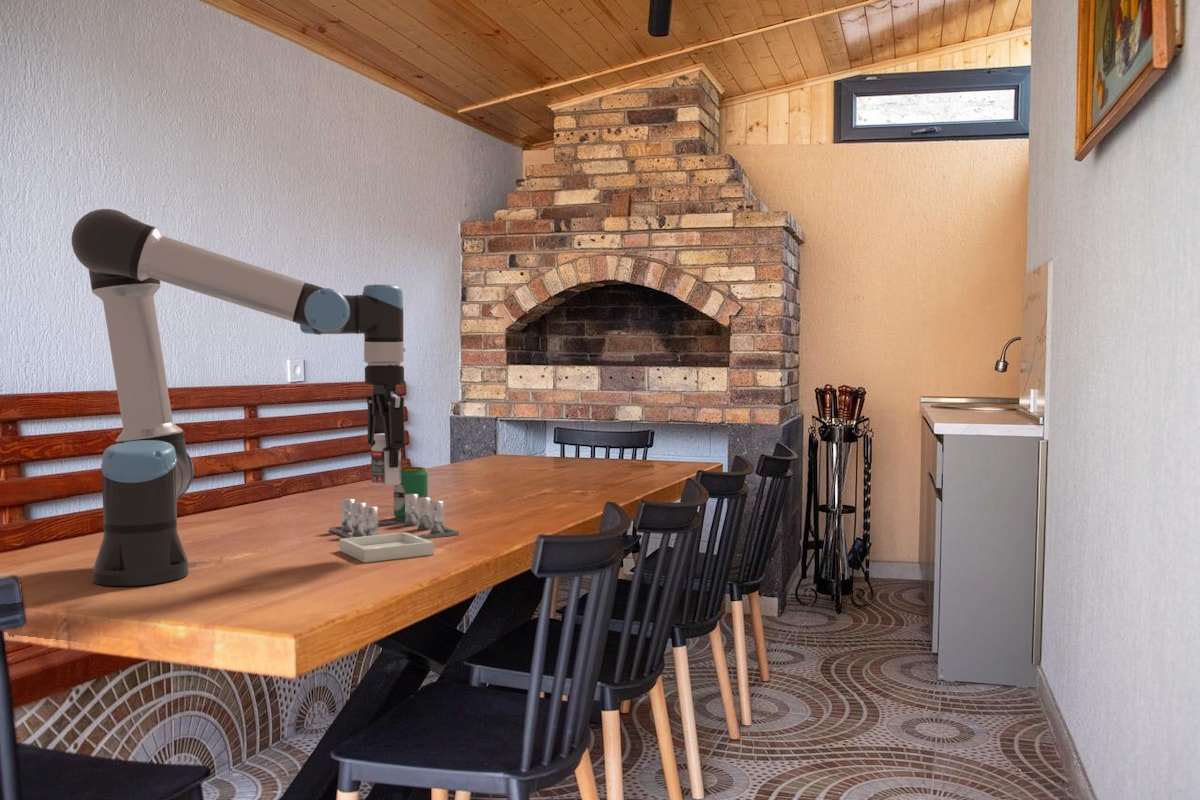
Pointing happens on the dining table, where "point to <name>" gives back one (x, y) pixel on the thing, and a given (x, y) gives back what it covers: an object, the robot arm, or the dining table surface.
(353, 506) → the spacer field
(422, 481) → the beverage can
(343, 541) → the dish
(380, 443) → the pill bottle
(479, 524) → the dining table surface
